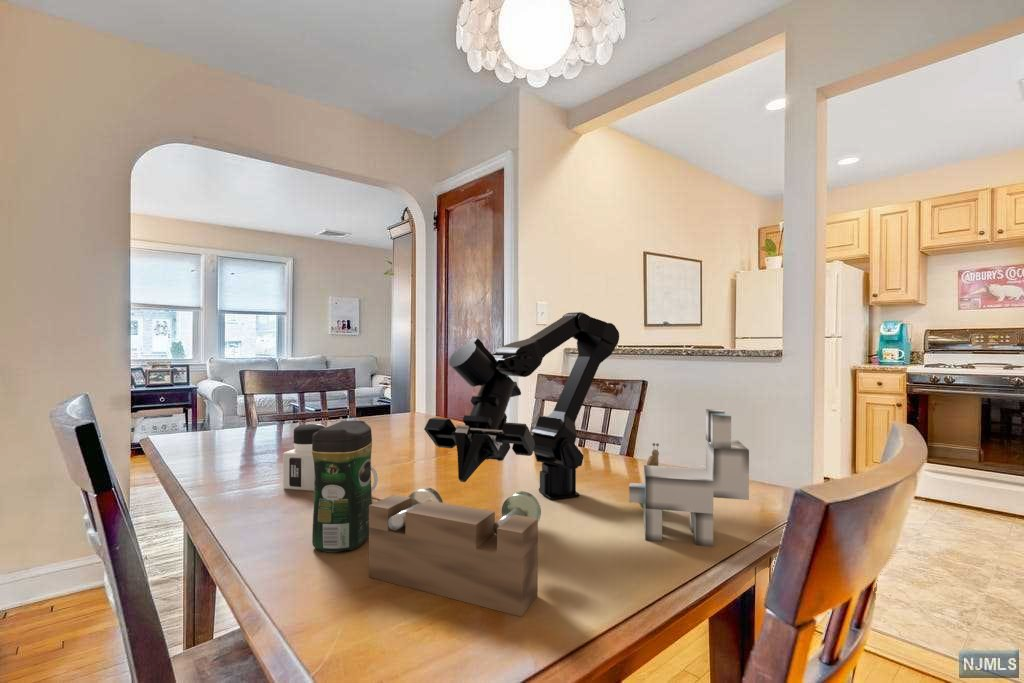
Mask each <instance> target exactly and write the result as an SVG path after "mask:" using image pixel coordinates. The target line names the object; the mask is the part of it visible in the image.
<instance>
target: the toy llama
mask: <svg viewBox="0 0 1024 683" xmlns="http://www.w3.org/2000/svg"><path fill="white" fill-rule="evenodd" d="M715 498H717V499H729V500H730V499H731V500H732V499H733V500H742V501H743V500H745V501H749V500H750V449H749V448H747V447H746V446H745V445H744V444H743V443H742V442H740V441H739V440H735V439H734V440H733V439H732V416H731V415H730V414H729V413H726V412H725V410H723V409H718V408H717V409H713V408H711V409H709V408H705V468H702V467H701V468H698V467H682V466H681V467H680V466H667V465H666V466H665V465H663V466H661V465H658V466H650V465H647V464H646V465H643V483H640V482H639V483H637V482H629V483H628V502H629V503H634V504H639V503H644V509H643V528H644V539H645V540H644V541H650V542H660V543H662V542H663V511H671V512H673V511H674V512H686V513H689V529H690V531H691V533H693V540H694V543H695V545H696V546H703V547H714V499H715Z"/></svg>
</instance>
